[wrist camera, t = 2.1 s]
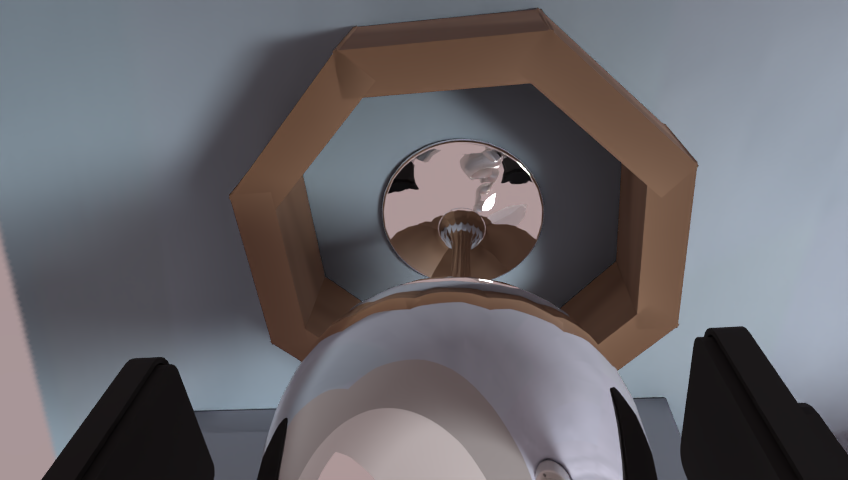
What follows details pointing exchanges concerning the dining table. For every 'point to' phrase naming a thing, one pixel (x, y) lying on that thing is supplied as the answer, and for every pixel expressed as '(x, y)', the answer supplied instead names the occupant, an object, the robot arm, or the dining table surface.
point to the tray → (247, 429)
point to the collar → (462, 69)
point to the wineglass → (458, 352)
